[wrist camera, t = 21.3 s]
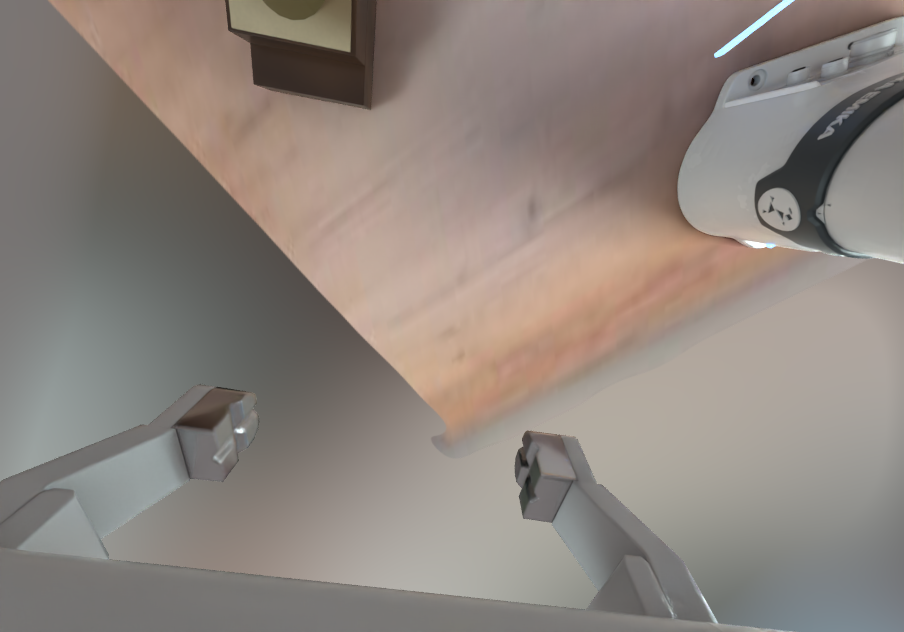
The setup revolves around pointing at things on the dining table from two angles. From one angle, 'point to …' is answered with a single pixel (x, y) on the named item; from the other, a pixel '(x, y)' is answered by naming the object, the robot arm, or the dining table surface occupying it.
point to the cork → (295, 8)
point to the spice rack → (311, 49)
